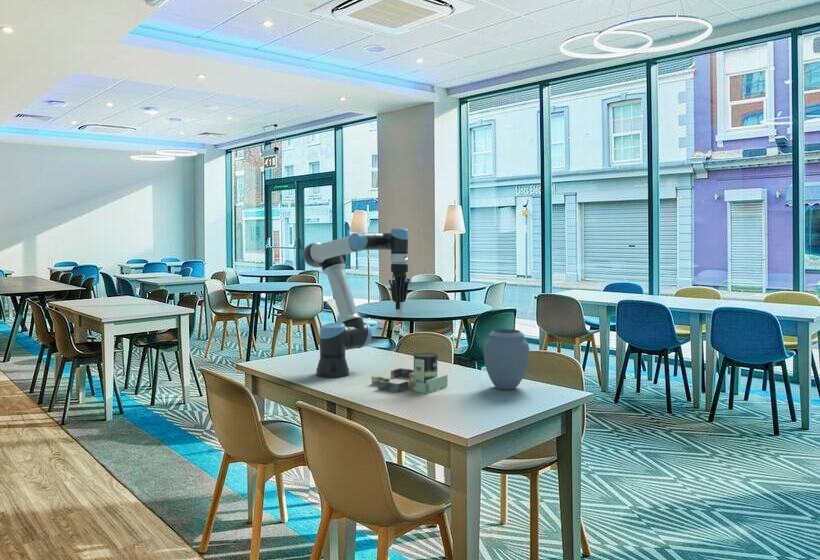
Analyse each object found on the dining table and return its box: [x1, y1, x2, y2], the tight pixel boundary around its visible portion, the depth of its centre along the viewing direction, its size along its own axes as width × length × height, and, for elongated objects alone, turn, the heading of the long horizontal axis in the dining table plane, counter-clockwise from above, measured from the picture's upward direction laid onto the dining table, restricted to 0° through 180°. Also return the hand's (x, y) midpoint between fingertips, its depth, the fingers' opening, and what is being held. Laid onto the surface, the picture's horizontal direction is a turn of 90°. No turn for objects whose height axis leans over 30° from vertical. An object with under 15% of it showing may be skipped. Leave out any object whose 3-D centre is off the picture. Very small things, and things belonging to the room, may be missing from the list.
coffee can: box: [412, 352, 439, 384], centre depth 278 cm, size 10×10×14 cm
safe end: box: [418, 374, 448, 394], centre depth 276 cm, size 5×15×5 cm, turn 146°
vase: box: [482, 328, 530, 391], centre depth 277 cm, size 20×20×24 cm
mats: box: [394, 376, 409, 381], centre depth 285 cm, size 17×26×1 cm, turn 146°
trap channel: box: [371, 367, 418, 394], centre depth 284 cm, size 24×28×4 cm
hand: (399, 316), depth 291 cm, fingers closed
